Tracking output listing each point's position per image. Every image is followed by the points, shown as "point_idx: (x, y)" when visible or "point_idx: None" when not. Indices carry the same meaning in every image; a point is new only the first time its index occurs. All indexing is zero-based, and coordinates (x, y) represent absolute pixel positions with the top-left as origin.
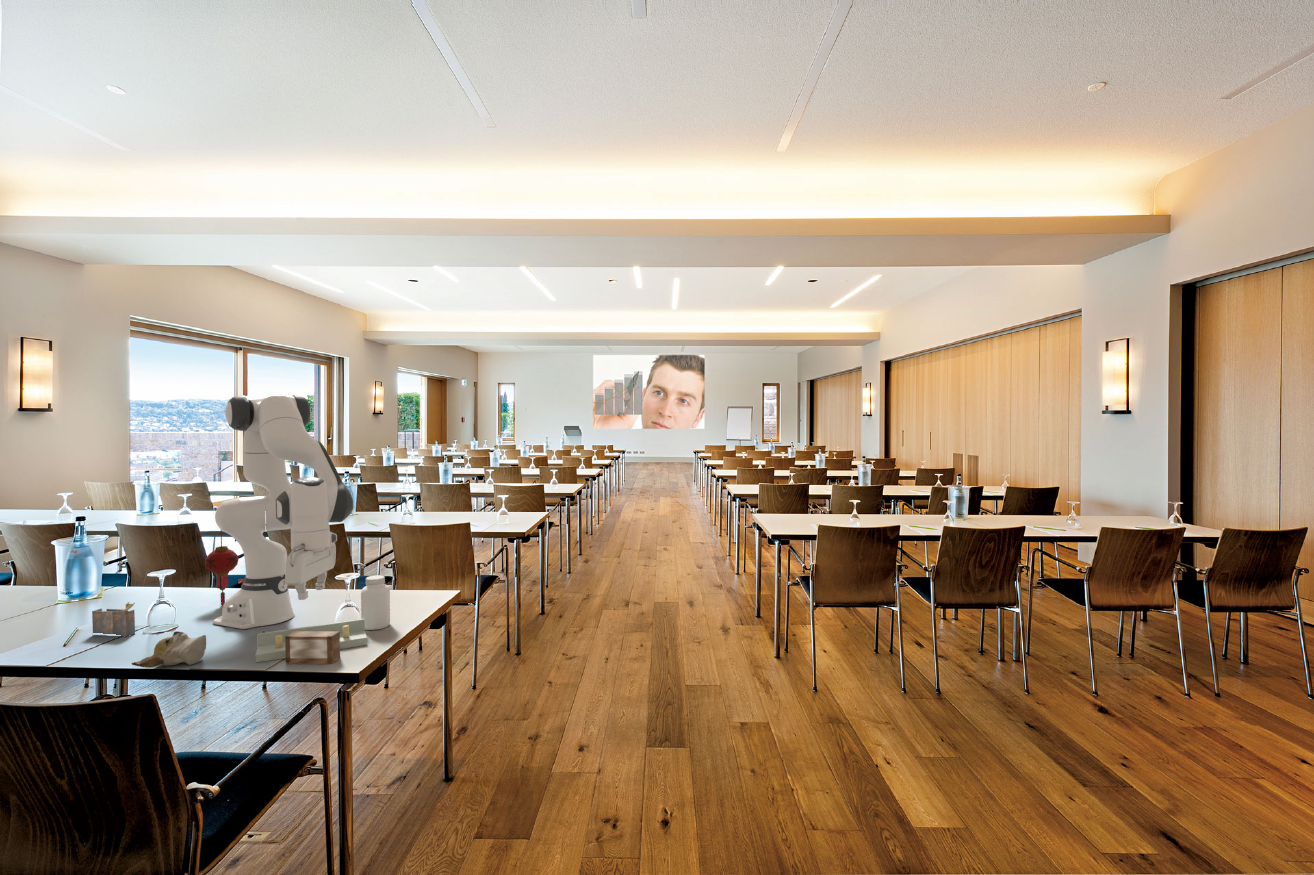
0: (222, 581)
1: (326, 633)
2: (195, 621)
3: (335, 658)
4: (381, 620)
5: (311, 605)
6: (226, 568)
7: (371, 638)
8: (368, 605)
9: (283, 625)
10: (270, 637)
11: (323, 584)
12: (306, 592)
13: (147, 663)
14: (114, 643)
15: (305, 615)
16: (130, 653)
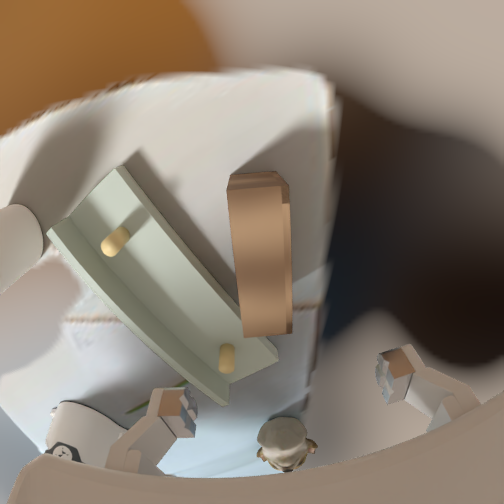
0: None
1: (255, 226)
2: None
3: (256, 174)
4: (15, 214)
5: (25, 395)
6: None
7: (80, 187)
8: (3, 260)
9: (94, 400)
10: (213, 383)
11: (165, 407)
12: (412, 370)
13: (316, 444)
14: None
15: (50, 389)
16: (249, 471)
